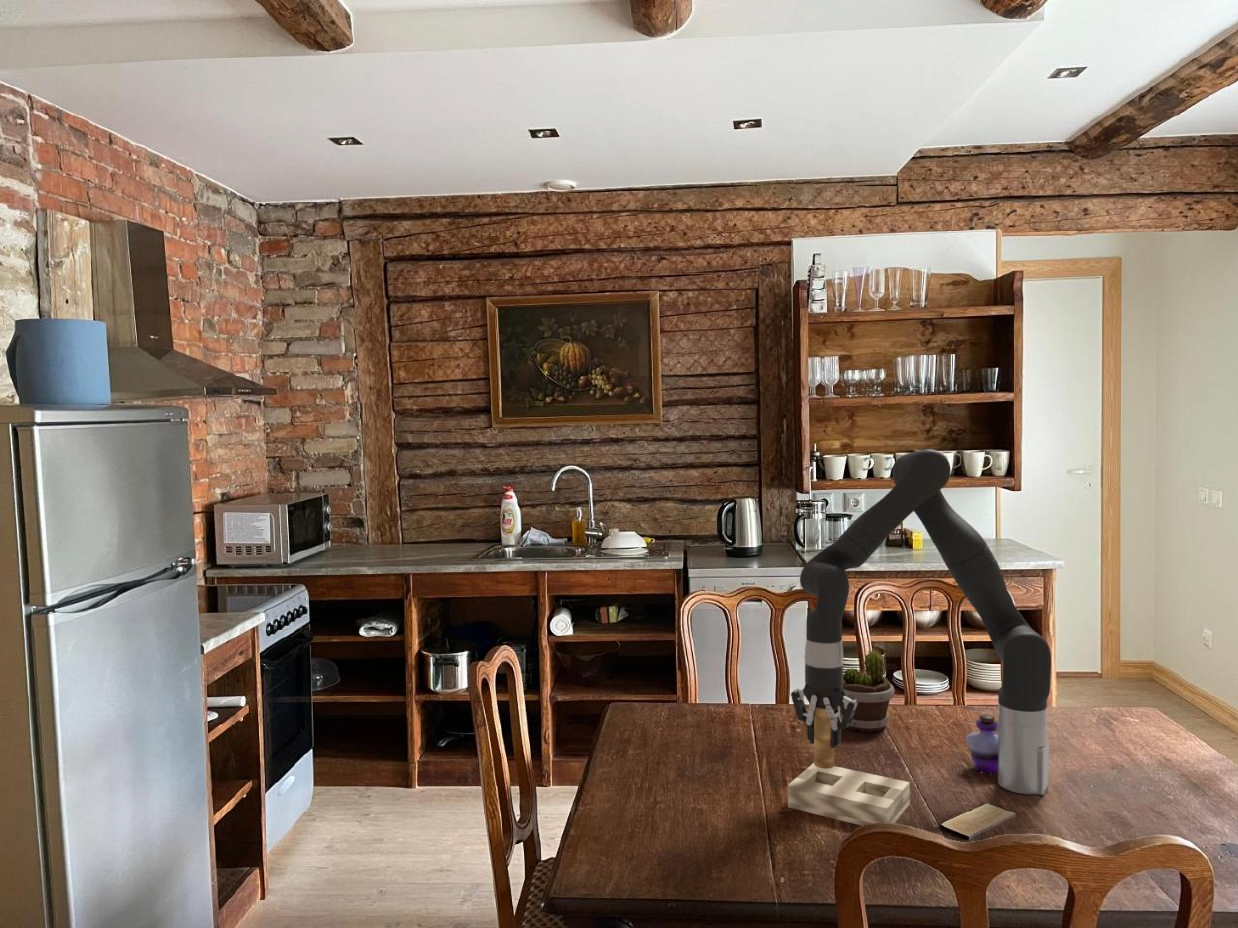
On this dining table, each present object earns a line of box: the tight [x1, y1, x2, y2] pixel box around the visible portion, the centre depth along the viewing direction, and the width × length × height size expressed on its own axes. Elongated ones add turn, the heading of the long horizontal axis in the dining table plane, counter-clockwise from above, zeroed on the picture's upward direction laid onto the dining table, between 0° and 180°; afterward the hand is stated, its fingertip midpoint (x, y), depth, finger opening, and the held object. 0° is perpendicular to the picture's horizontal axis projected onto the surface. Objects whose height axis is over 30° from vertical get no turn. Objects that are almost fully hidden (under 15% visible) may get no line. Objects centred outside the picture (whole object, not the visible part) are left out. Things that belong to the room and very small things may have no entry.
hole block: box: [787, 762, 911, 827], centre depth 180 cm, size 20×14×4 cm
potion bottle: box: [965, 713, 998, 776], centre depth 196 cm, size 9×9×12 cm
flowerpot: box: [839, 644, 896, 733], centre depth 224 cm, size 14×15×20 cm
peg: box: [813, 707, 835, 769], centre depth 182 cm, size 4×4×12 cm
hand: (823, 744), depth 182 cm, fingers closed on peg, 4 cm apart
